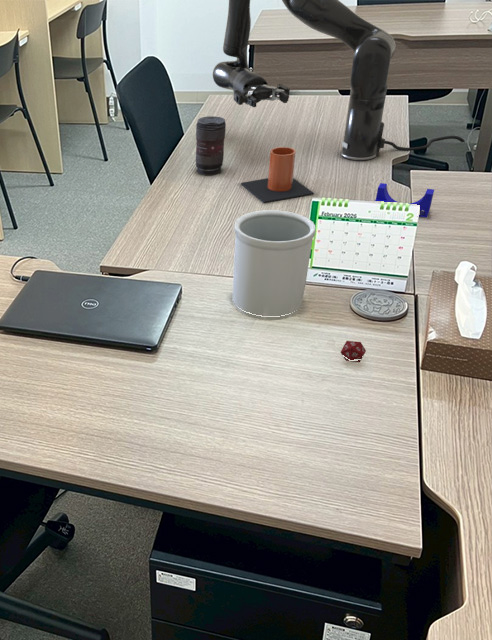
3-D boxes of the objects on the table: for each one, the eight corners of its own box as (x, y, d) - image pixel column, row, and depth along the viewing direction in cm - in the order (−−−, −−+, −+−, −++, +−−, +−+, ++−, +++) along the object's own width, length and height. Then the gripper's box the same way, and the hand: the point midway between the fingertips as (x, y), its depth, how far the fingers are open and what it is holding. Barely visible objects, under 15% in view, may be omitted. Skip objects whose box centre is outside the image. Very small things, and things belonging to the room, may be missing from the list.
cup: (285, 181, 194) (288, 145, 188) (296, 189, 188) (300, 153, 183) (263, 184, 193) (266, 149, 187) (273, 193, 188) (277, 156, 182)
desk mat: (288, 176, 197) (288, 174, 197) (313, 194, 186) (313, 192, 186) (241, 184, 196) (241, 182, 195) (263, 203, 184) (264, 201, 184)
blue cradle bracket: (372, 212, 174) (376, 189, 171) (376, 205, 177) (380, 183, 174) (425, 220, 168) (431, 196, 165) (429, 212, 171) (434, 189, 168)
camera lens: (225, 174, 202) (228, 123, 194) (197, 177, 203) (198, 125, 194) (220, 164, 209) (223, 114, 201) (193, 167, 209) (194, 116, 201)
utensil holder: (254, 277, 153) (261, 202, 144) (318, 298, 144) (330, 220, 134) (215, 306, 145) (219, 229, 136) (280, 330, 136) (289, 249, 126)
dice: (335, 355, 128) (338, 337, 126) (360, 353, 128) (364, 335, 126) (342, 367, 125) (345, 349, 123) (368, 366, 125) (371, 347, 122)
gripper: (225, 76, 200) (245, 90, 186) (274, 69, 200) (298, 83, 187) (224, 103, 204) (244, 119, 190) (272, 96, 204) (295, 111, 191)
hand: (270, 101), depth 189 cm, fingers open, 8 cm apart
